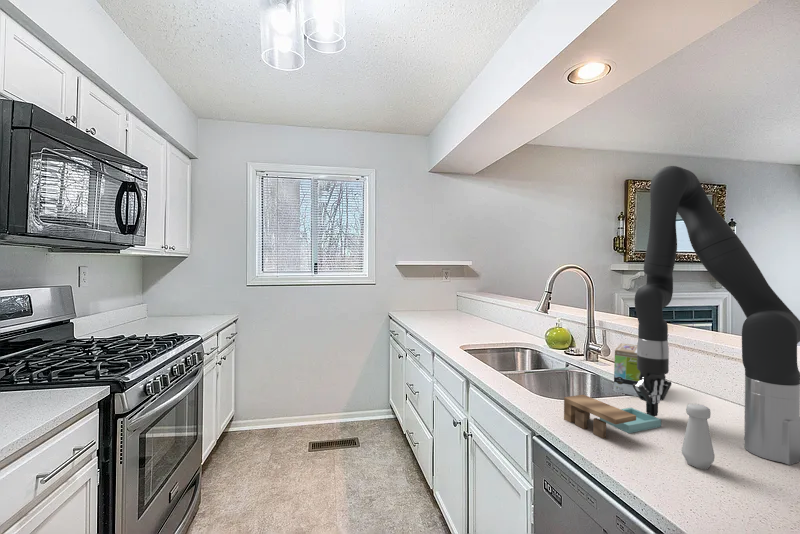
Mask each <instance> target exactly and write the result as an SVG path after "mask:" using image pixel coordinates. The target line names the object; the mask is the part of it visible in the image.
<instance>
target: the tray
mask: <svg viewBox="0 0 800 534" xmlns="http://www.w3.org/2000/svg"><path fill="white" fill-rule="evenodd" d="M621 410H623V411H626V412H629V413H631V414H634V415H636V420H635V421H630V422H626V423H621V424H613V423H611V422H609V421H606V420H604V419H602V418H600V417H599V419H600V420H602V421H604V422H606V425H609V426H611V427H613V428H616V429H618V430H621V431H622V432H624V433H627V434H631V433H636V432H641V431H646V430H650V429H651V430H652V429H656V428H660V427H662V419H661V418H658V417H657V416H655V417H654V416H651V415H649V414H647V412H646V413H645V412H643V411H640V410H638V409H636V408H633V407H626V408H621Z"/></svg>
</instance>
